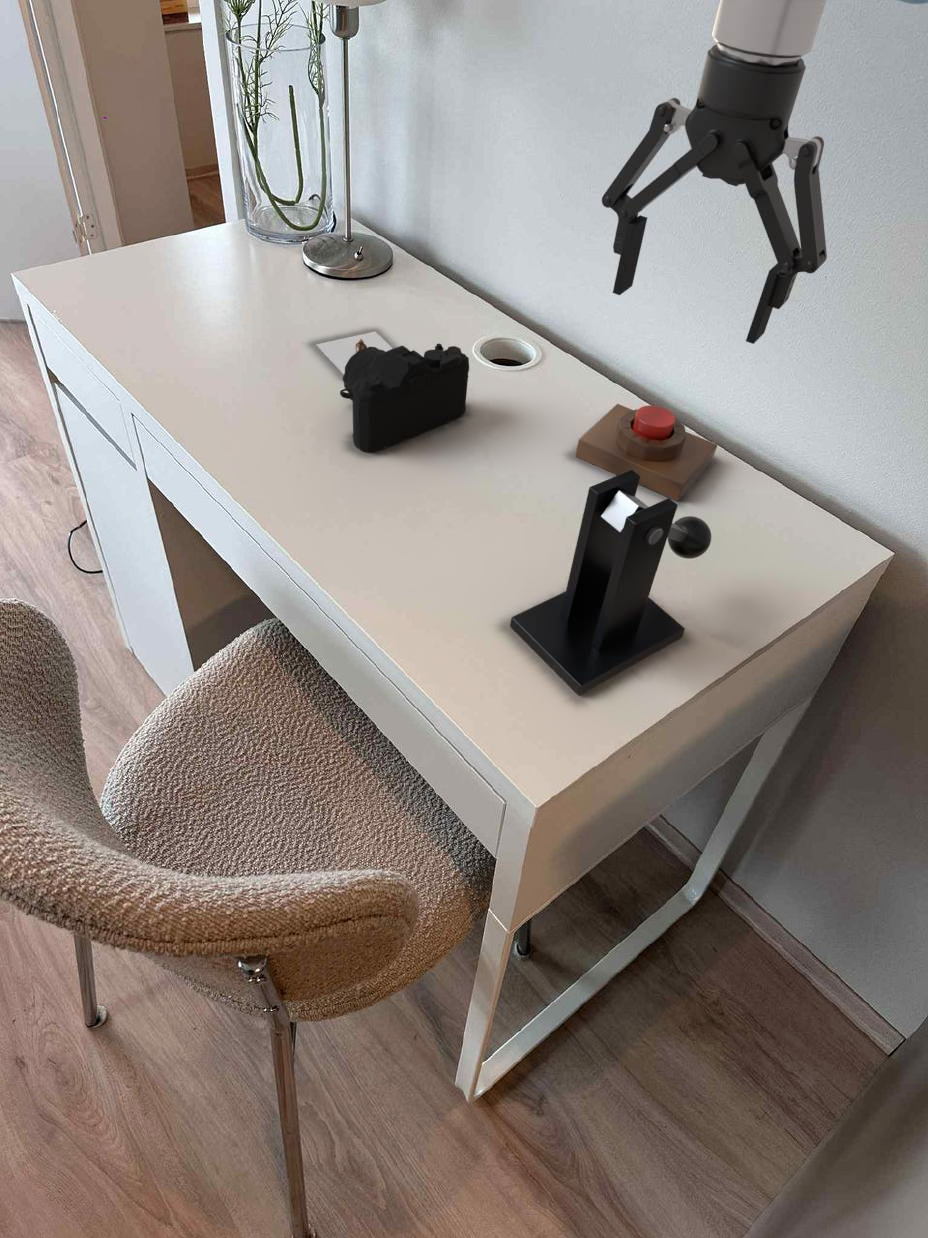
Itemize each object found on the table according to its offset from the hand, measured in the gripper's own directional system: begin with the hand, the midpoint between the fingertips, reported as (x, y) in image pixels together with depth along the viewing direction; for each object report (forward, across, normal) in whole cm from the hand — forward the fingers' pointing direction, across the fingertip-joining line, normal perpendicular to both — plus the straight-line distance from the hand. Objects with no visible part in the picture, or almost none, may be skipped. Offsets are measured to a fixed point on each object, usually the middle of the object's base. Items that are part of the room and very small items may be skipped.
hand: (686, 312), depth 83 cm
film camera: (+17, +25, +11) cm, 32 cm away
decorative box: (+17, +36, +3) cm, 40 cm away
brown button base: (+17, 0, 0) cm, 17 cm away
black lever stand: (+17, -8, +26) cm, 32 cm away
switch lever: (+8, -9, +23) cm, 26 cm away
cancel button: (+13, 0, 0) cm, 13 cm away
